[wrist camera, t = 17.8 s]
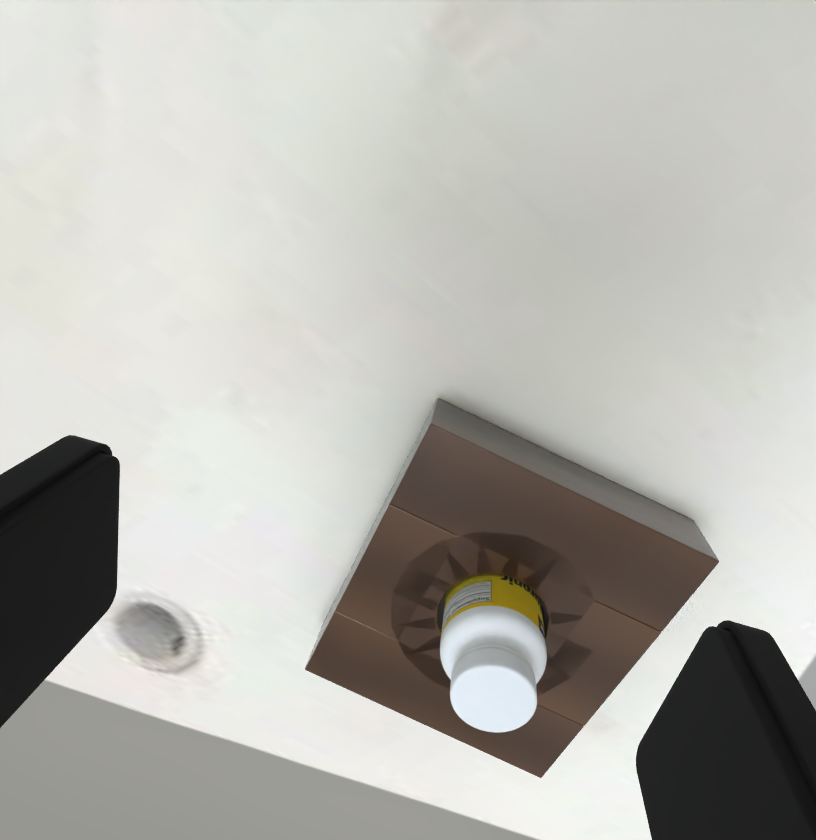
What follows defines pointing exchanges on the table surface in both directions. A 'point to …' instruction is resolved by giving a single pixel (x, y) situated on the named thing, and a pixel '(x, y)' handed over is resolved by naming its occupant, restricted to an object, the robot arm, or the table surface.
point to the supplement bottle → (493, 651)
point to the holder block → (516, 558)
